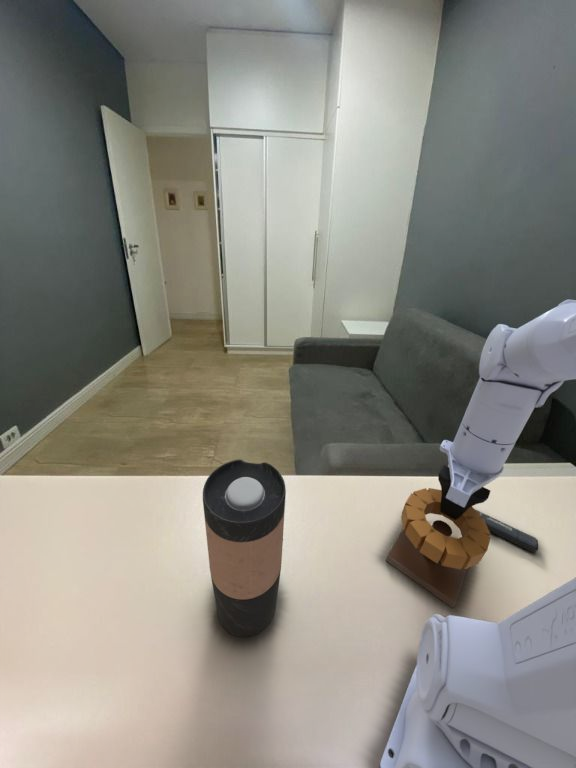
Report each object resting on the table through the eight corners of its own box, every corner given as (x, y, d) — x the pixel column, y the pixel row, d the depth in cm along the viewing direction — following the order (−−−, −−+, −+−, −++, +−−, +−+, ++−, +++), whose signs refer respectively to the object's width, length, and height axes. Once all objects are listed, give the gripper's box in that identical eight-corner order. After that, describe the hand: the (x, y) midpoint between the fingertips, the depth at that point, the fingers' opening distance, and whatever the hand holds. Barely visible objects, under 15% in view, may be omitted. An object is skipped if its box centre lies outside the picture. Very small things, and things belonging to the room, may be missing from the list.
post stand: (452, 608, 38) (471, 578, 35) (385, 560, 43) (396, 529, 40) (469, 555, 44) (487, 526, 41) (409, 519, 49) (420, 489, 46)
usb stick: (535, 542, 47) (539, 536, 46) (535, 556, 45) (539, 549, 44) (467, 510, 51) (470, 504, 51) (464, 521, 50) (467, 514, 49)
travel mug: (236, 658, 33) (228, 542, 23) (203, 596, 38) (186, 480, 28) (291, 608, 37) (304, 493, 27) (255, 559, 42) (256, 447, 32)
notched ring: (472, 587, 35) (480, 575, 34) (389, 532, 40) (393, 520, 39) (489, 528, 42) (496, 516, 41) (416, 488, 47) (421, 477, 46)
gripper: (467, 393, 43) (438, 465, 50) (434, 442, 33) (404, 523, 40) (526, 414, 39) (486, 488, 46) (509, 476, 30) (462, 559, 36)
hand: (452, 506), depth 43 cm, fingers closed on notched ring, 3 cm apart
